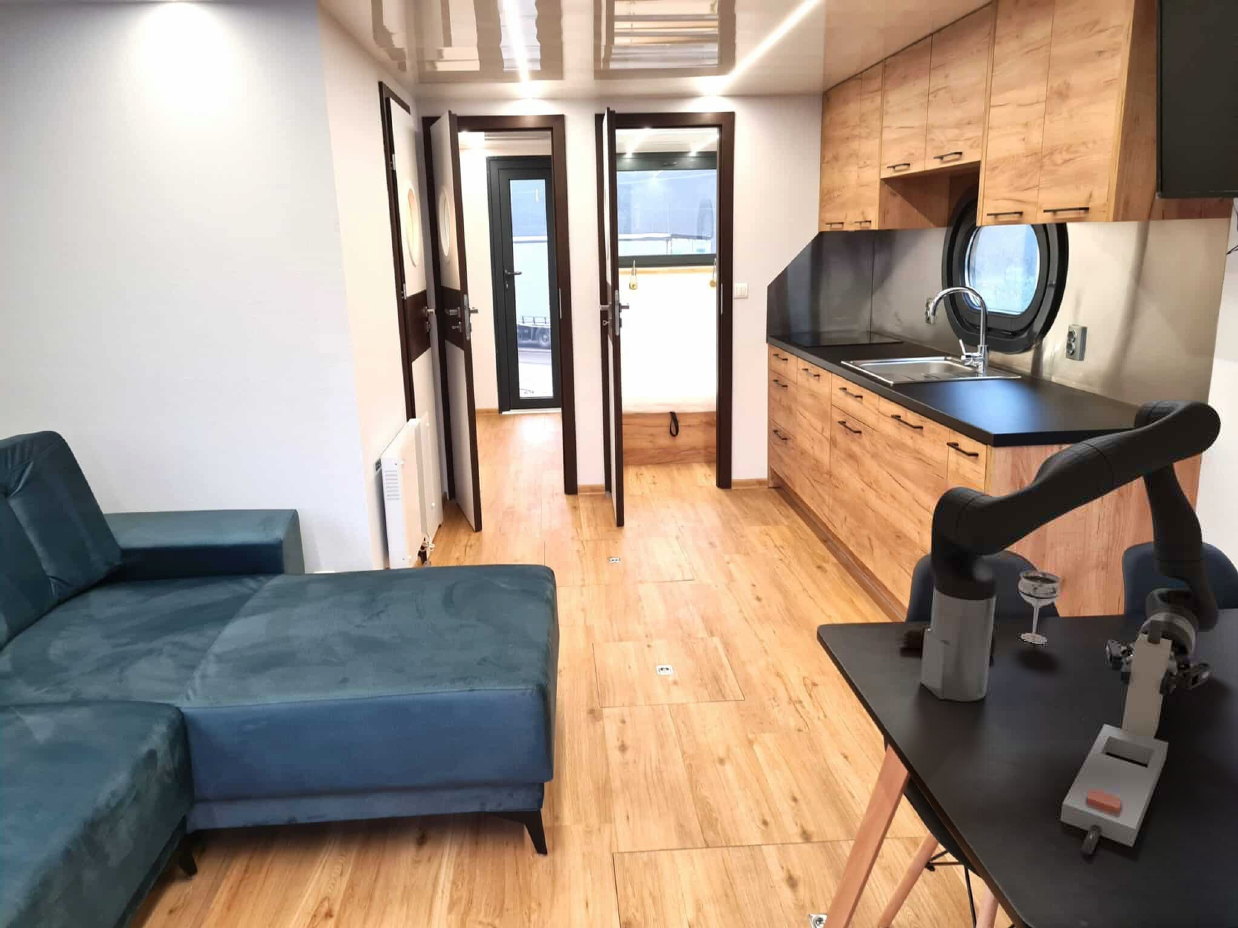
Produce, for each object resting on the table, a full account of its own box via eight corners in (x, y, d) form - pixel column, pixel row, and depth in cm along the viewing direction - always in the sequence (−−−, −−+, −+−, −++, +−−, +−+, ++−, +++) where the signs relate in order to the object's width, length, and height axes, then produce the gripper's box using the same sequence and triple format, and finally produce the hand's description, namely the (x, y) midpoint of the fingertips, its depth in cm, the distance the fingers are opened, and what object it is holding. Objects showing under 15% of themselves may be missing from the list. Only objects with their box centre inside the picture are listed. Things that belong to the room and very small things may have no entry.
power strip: (1123, 869, 103) (1127, 844, 102) (1049, 840, 108) (1052, 817, 107) (1165, 758, 125) (1169, 737, 124) (1102, 739, 129) (1105, 718, 129)
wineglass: (1061, 645, 160) (1069, 582, 157) (1028, 648, 158) (1035, 585, 155) (1037, 629, 166) (1044, 569, 163) (1005, 632, 165) (1011, 572, 162)
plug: (1152, 739, 128) (1170, 630, 124) (1121, 730, 130) (1137, 623, 126) (1157, 727, 131) (1175, 621, 127) (1127, 718, 133) (1143, 614, 129)
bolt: (902, 656, 160) (989, 658, 158) (907, 654, 155) (996, 656, 153) (900, 623, 162) (986, 625, 160) (905, 620, 157) (994, 622, 155)
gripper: (1117, 608, 143) (1092, 645, 130) (1222, 632, 134) (1207, 674, 121) (1111, 651, 144) (1086, 692, 131) (1214, 677, 136) (1199, 723, 123)
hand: (1144, 683), depth 126 cm, fingers closed on plug, 4 cm apart
